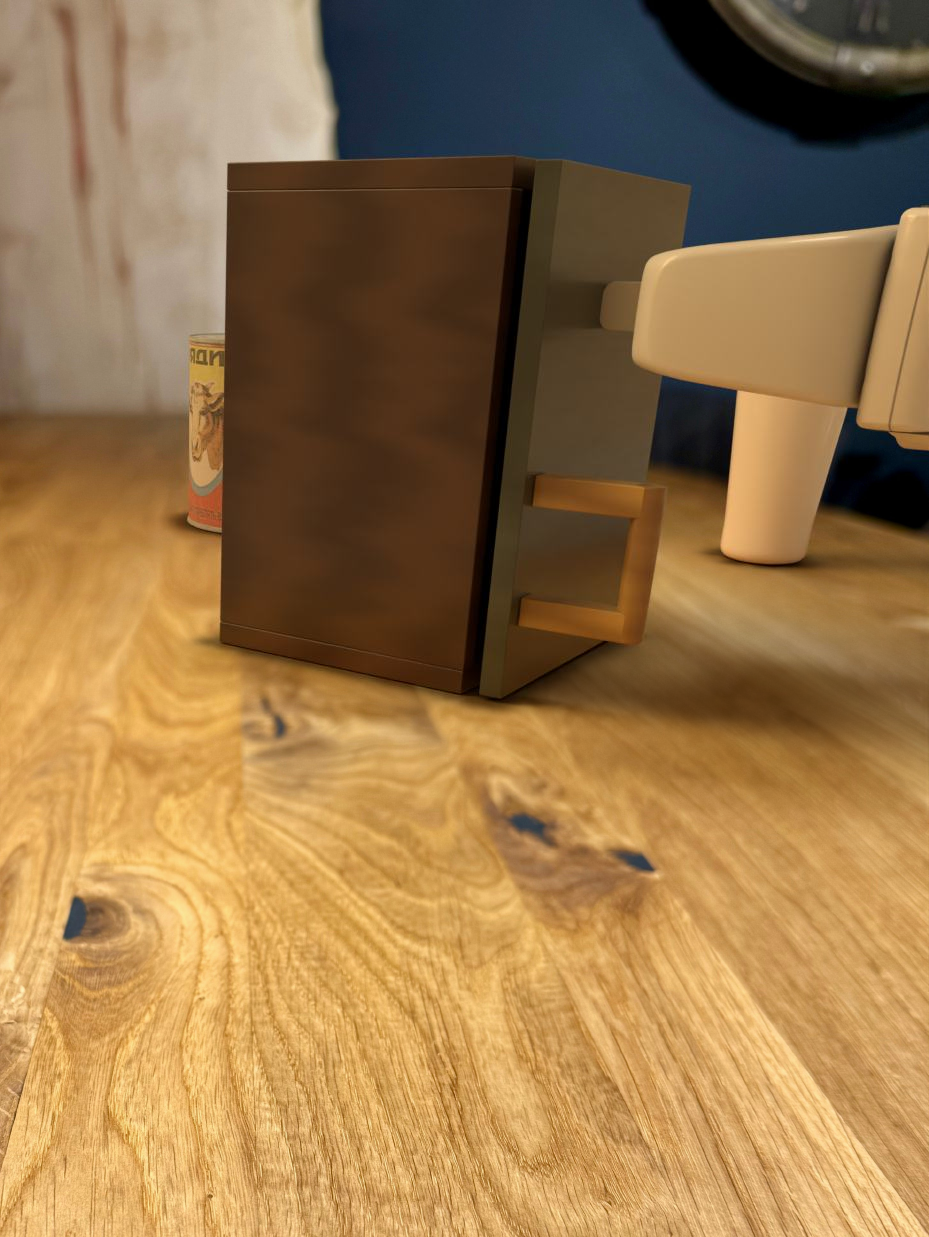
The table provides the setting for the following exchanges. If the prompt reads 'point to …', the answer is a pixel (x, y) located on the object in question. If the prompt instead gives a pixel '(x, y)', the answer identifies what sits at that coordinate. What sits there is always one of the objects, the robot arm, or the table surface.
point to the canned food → (206, 430)
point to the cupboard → (369, 407)
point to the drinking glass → (777, 476)
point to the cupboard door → (578, 430)
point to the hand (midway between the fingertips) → (612, 305)
